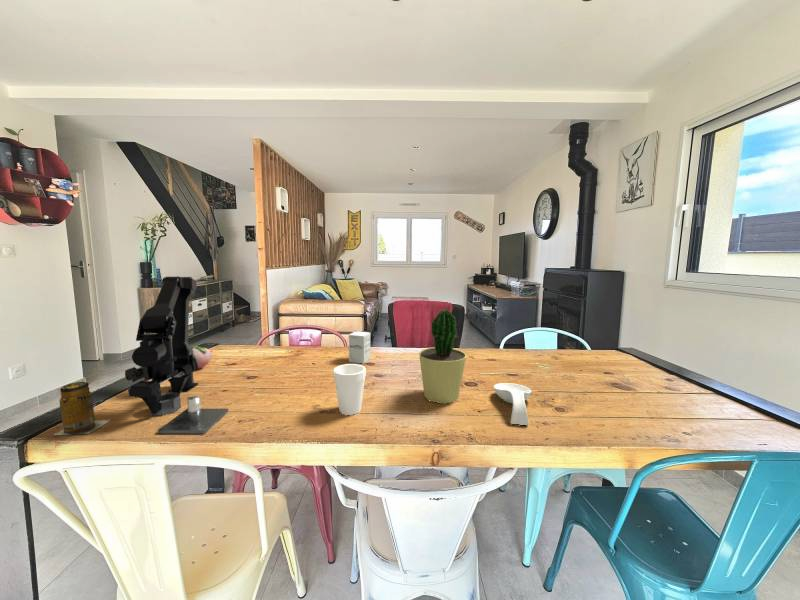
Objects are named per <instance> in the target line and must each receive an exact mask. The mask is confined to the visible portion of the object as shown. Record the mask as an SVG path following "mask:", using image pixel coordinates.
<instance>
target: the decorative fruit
mask: <svg viewBox="0 0 800 600" xmlns="http://www.w3.org/2000/svg"><path fill="white" fill-rule="evenodd" d="M190 347H191V346H190ZM191 348H192V349H193V354H194V356H195V357H196V359H197V361H198V368H199V369H202V368H204V367H205V366H207V365H209V363H210V362H211V360H212V357H213V356H212V355H213V354H212V351H210V349H209V348H207V347H202V346H201V347H200V346H199V344H197V345H196V346H192V347H191ZM199 369H198V370H199Z"/></svg>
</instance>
